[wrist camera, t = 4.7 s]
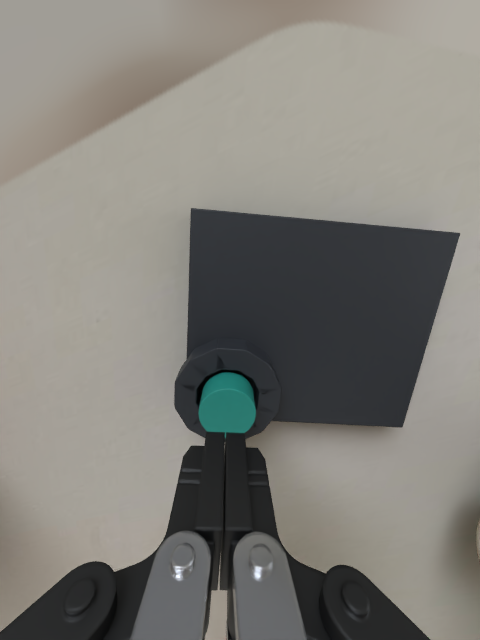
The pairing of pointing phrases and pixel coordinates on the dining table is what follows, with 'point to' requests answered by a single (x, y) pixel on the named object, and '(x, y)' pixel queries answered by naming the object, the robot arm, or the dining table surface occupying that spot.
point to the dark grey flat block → (310, 315)
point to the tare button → (227, 404)
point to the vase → (478, 539)
